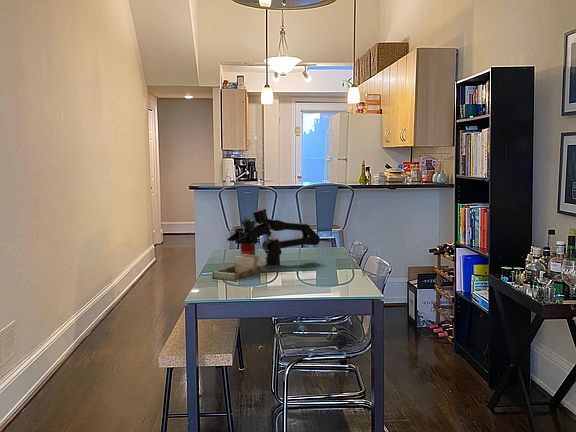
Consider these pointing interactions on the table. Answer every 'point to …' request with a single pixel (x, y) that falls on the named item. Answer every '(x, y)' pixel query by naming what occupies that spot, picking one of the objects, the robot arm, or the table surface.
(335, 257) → the table surface
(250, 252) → the canned food
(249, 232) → the robot arm
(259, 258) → the birch block
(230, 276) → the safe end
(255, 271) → the channel
